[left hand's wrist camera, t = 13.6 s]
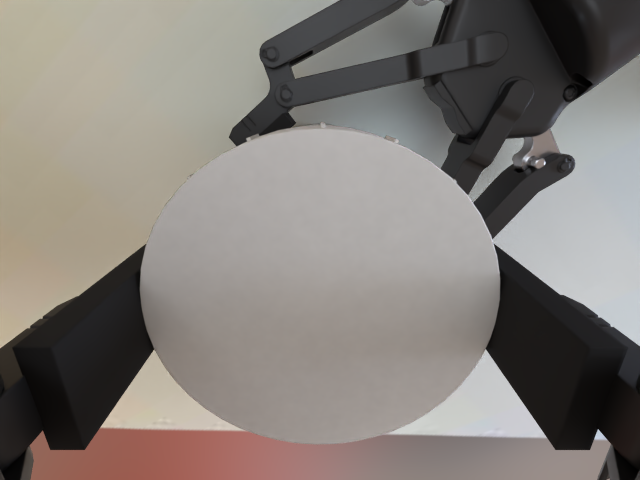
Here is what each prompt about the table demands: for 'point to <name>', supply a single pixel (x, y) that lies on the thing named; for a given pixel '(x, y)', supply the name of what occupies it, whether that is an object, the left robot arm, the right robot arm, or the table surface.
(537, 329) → the left robot arm
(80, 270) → the table surface
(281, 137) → the lid
